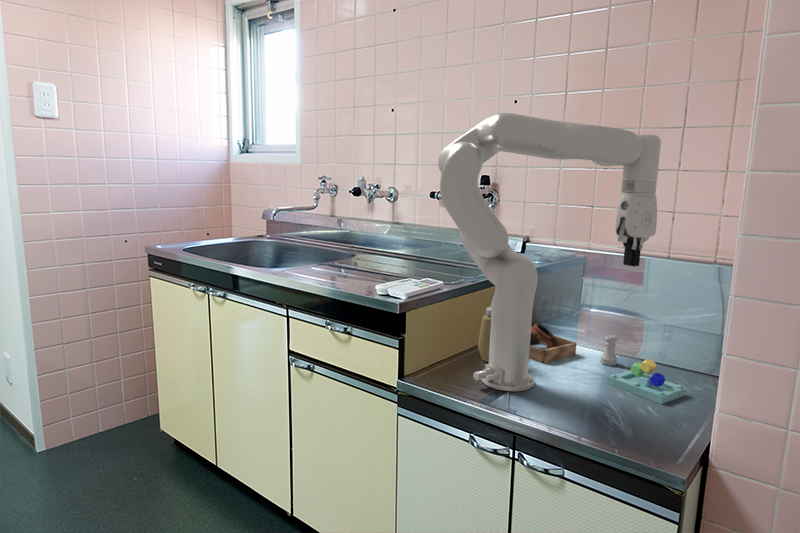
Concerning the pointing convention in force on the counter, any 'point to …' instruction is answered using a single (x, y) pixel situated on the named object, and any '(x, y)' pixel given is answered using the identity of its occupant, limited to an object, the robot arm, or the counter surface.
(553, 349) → the tray
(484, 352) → the squeeze bottle
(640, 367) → the multicolored ball cluster
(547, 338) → the pottery mug
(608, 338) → the rook chess piece
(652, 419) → the counter surface
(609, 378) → the baseplate
